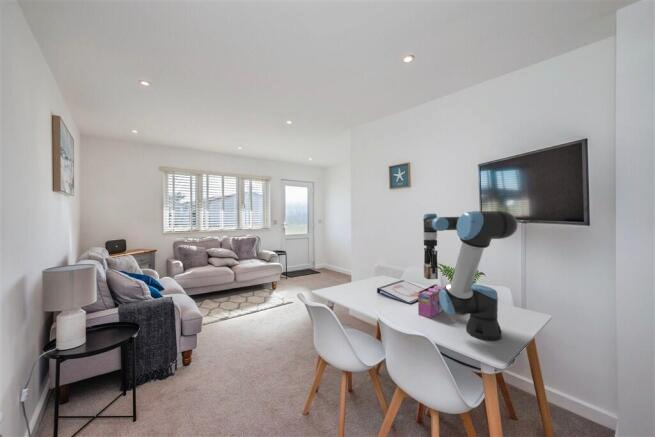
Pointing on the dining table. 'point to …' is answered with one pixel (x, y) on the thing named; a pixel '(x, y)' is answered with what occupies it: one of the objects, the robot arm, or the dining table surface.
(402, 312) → the dining table surface
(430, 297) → the gum box
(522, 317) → the dining table surface
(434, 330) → the dining table surface
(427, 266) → the walnut block
